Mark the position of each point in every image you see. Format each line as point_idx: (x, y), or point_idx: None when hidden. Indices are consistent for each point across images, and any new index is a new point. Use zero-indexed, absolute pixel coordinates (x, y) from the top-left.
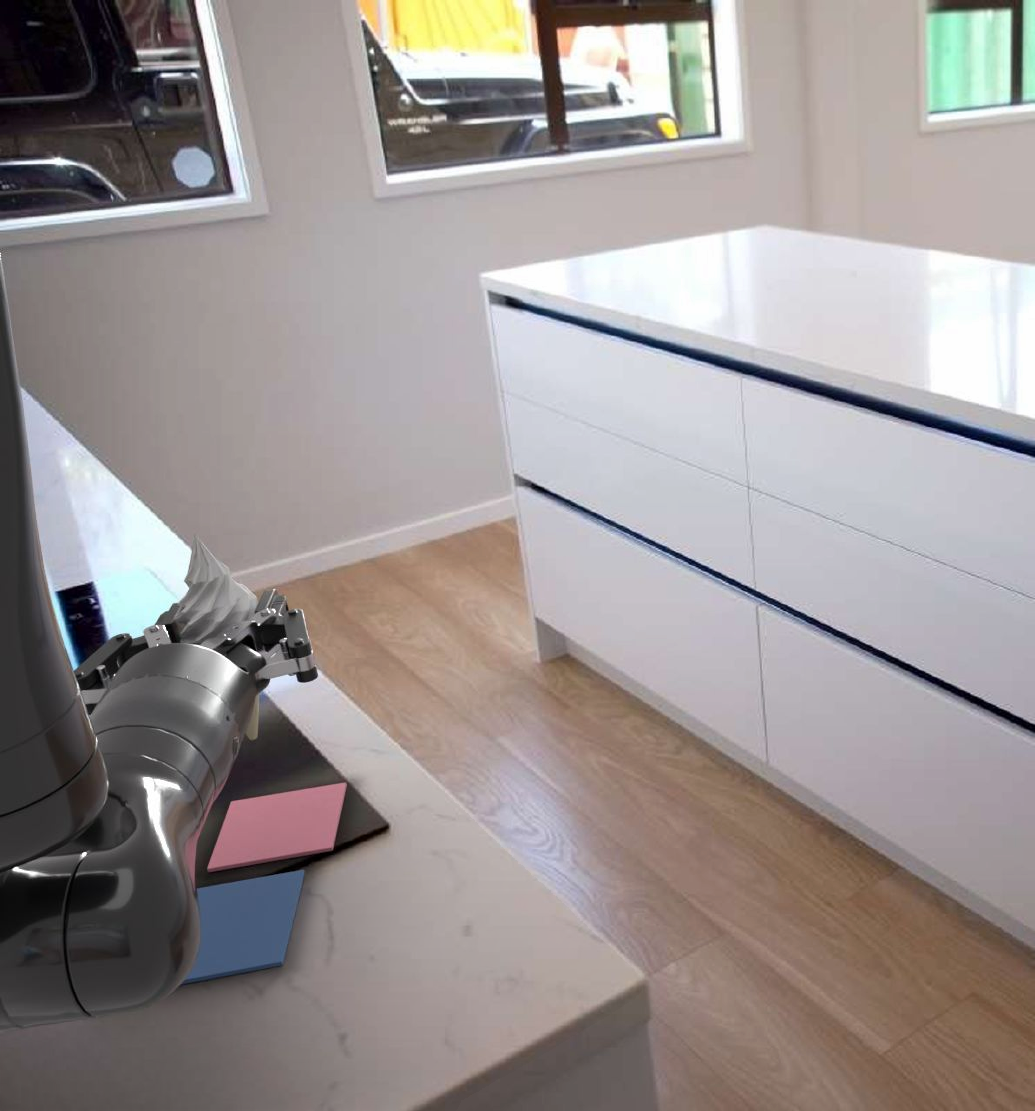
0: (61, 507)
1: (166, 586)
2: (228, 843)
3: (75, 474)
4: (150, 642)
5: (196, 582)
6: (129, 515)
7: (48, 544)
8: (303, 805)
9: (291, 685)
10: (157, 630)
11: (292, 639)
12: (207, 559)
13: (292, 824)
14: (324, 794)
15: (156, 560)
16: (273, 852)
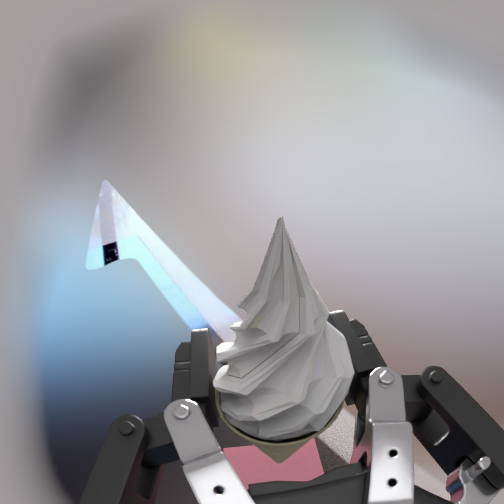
0: (109, 209)
1: (145, 245)
2: None
3: (115, 197)
4: (205, 501)
5: (279, 339)
6: (131, 211)
7: (103, 223)
8: (288, 461)
9: (227, 322)
10: (191, 422)
11: (498, 457)
12: (302, 281)
13: None
14: (301, 449)
15: (140, 231)
16: None
